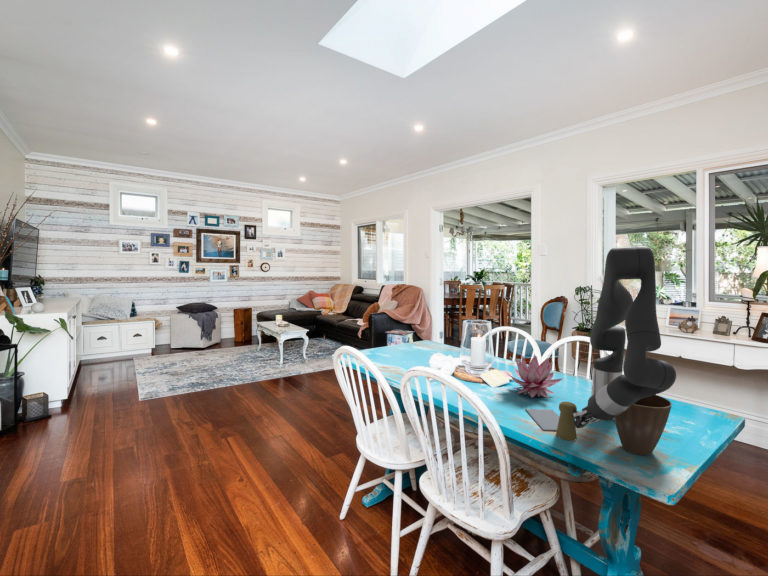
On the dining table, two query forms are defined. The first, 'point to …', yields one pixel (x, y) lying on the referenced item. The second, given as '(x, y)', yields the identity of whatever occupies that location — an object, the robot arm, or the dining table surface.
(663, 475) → the dining table surface
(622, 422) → the plant pot
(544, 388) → the decorative flower
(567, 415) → the cork
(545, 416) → the mat
